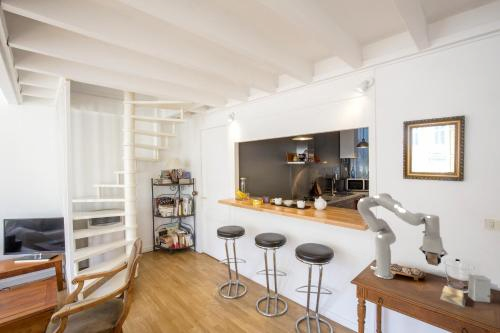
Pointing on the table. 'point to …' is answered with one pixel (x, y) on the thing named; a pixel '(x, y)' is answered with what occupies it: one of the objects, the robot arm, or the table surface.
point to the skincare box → (479, 288)
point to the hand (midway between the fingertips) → (433, 262)
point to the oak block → (453, 295)
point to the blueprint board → (455, 303)
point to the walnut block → (432, 258)
